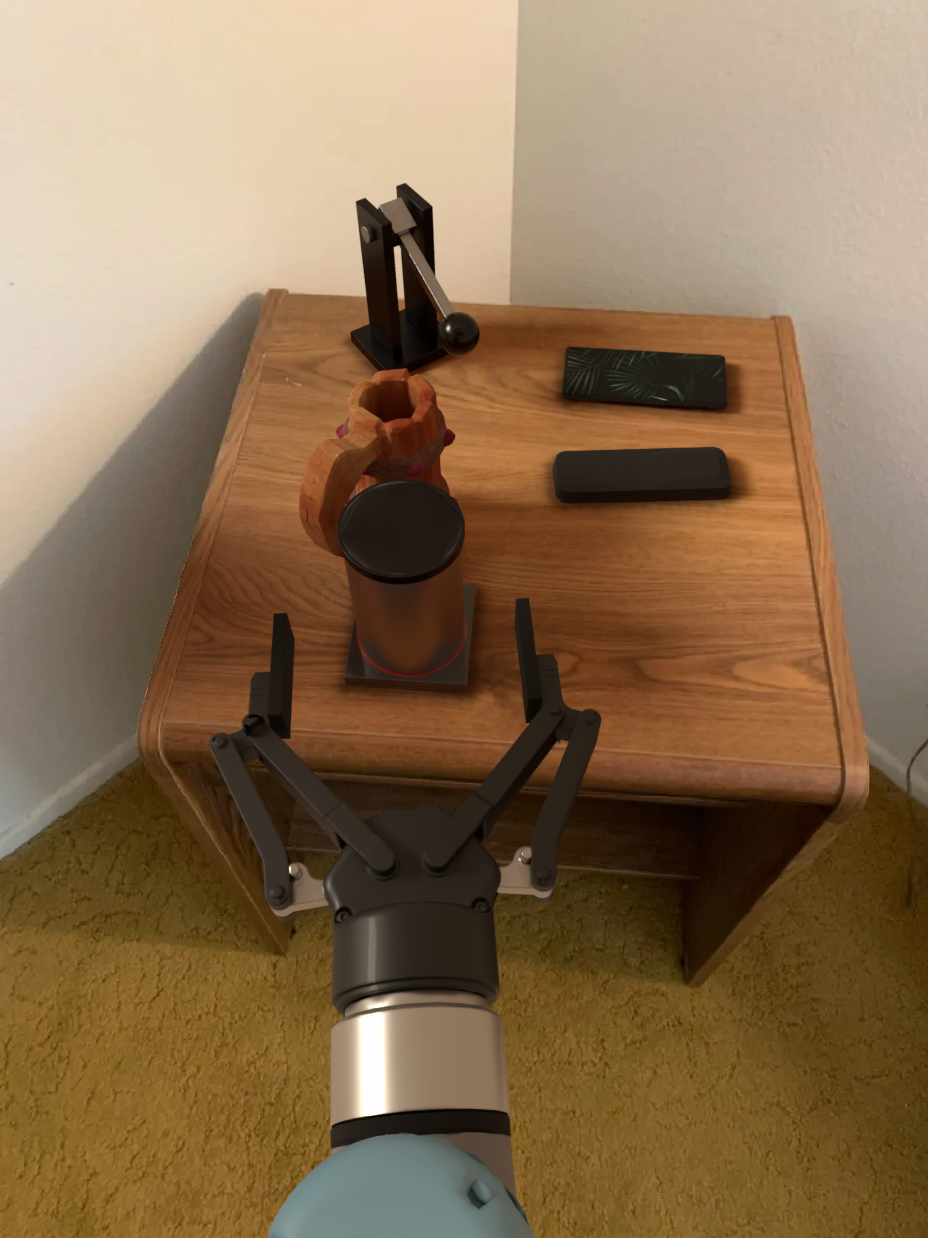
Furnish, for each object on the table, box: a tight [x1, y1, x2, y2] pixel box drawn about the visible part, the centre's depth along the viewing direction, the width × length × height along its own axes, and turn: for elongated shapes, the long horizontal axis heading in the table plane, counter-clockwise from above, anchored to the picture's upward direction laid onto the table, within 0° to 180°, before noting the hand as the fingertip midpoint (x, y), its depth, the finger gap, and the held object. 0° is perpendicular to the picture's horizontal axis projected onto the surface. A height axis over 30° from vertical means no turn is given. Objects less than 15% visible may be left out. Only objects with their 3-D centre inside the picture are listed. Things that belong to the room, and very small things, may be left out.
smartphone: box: [561, 346, 729, 410], centre depth 86 cm, size 7×1×15 cm
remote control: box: [552, 446, 733, 503], centre depth 79 cm, size 5×2×15 cm
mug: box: [298, 368, 460, 559], centre depth 69 cm, size 15×8×15 cm, turn 145°
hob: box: [343, 584, 477, 693], centre depth 70 cm, size 9×9×1 cm
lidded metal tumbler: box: [337, 479, 466, 674], centre depth 65 cm, size 8×8×12 cm
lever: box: [377, 197, 481, 357], centre depth 79 cm, size 14×4×4 cm, turn 34°
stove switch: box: [349, 182, 450, 373], centre depth 84 cm, size 7×8×15 cm
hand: (403, 618), depth 53 cm, fingers open, 13 cm apart
